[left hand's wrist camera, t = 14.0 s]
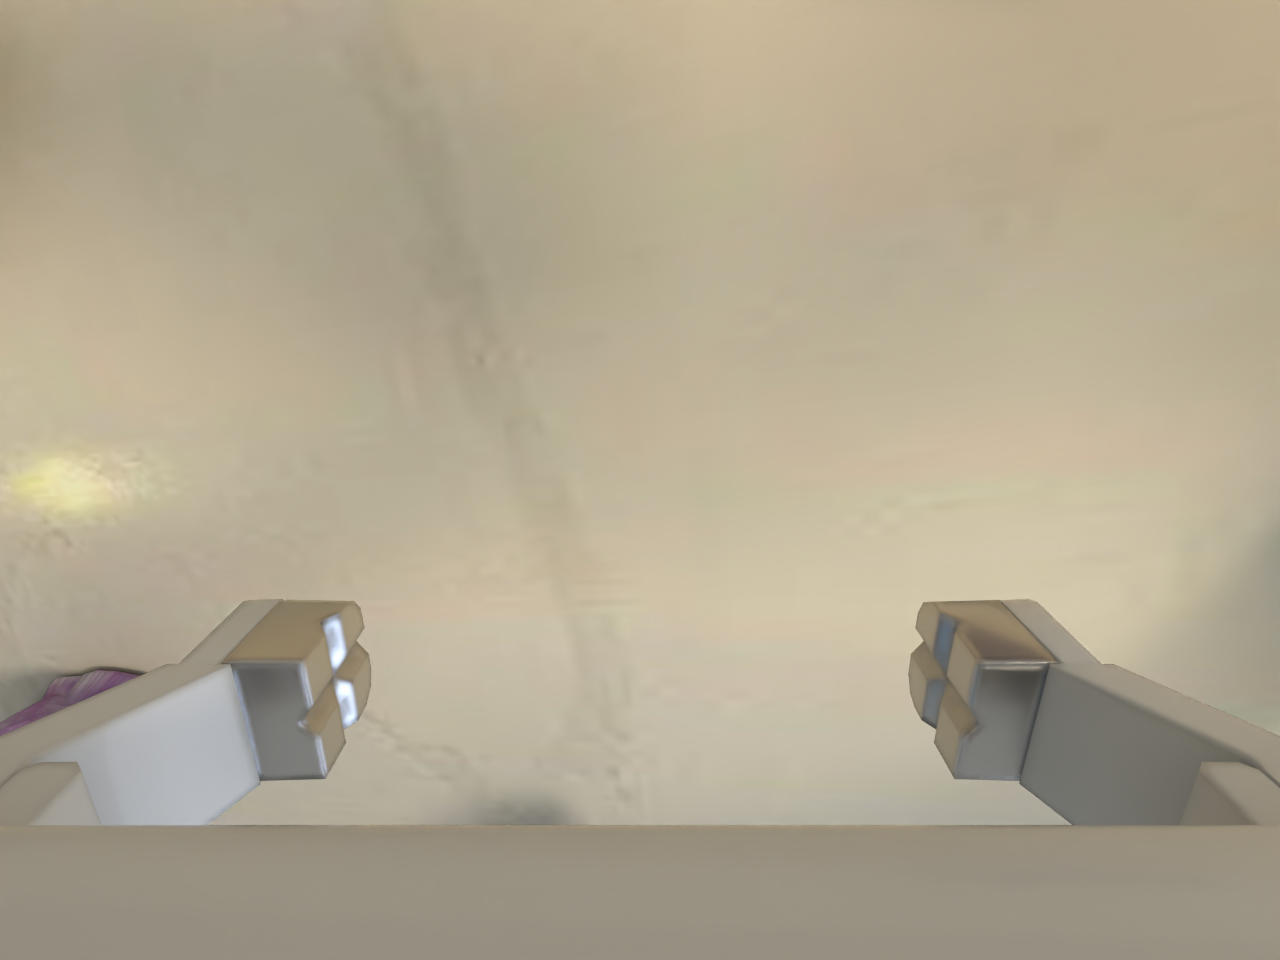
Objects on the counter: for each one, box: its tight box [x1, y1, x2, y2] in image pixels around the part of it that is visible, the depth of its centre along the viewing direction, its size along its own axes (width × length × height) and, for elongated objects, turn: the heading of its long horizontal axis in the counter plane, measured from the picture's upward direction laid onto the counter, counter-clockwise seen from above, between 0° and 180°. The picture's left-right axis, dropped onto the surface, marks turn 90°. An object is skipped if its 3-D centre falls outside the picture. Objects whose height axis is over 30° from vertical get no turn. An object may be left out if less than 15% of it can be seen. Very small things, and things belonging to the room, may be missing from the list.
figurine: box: [0, 669, 140, 736], centre depth 42 cm, size 9×10×15 cm
